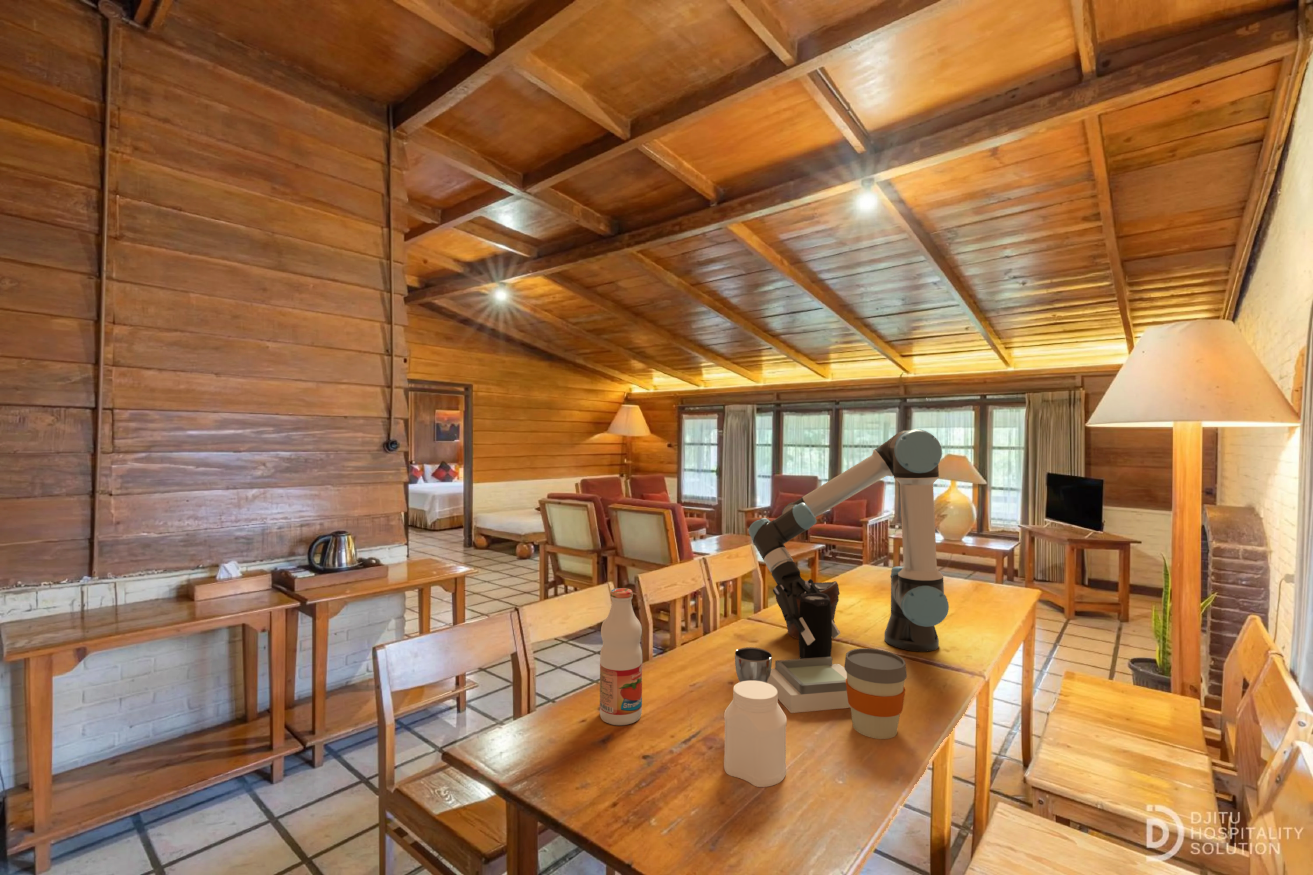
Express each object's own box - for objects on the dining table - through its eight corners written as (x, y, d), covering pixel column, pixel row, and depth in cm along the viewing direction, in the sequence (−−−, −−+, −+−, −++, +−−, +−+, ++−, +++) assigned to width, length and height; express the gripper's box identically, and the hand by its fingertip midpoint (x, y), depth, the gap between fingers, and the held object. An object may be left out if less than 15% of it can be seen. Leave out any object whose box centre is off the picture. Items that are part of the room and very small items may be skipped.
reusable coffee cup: (908, 748, 117) (908, 673, 117) (842, 736, 121) (843, 664, 121) (904, 719, 129) (905, 652, 129) (845, 710, 133) (845, 644, 133)
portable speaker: (821, 660, 162) (822, 590, 162) (837, 674, 153) (838, 599, 153) (792, 662, 161) (793, 591, 161) (807, 676, 152) (808, 601, 152)
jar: (794, 768, 110) (794, 689, 110) (770, 792, 102) (771, 707, 102) (740, 748, 117) (741, 673, 117) (715, 769, 109) (715, 689, 109)
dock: (856, 677, 151) (856, 654, 151) (890, 703, 137) (890, 678, 137) (765, 684, 146) (765, 661, 146) (790, 712, 132) (791, 686, 132)
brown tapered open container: (767, 626, 192) (769, 571, 191) (826, 624, 194) (827, 571, 193) (785, 646, 174) (787, 586, 173) (850, 644, 176) (851, 586, 176)
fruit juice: (610, 703, 136) (611, 583, 136) (648, 710, 133) (648, 587, 133) (592, 722, 127) (593, 593, 127) (632, 729, 124) (633, 598, 124)
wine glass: (773, 716, 130) (774, 649, 130) (768, 734, 122) (769, 662, 122) (738, 711, 132) (738, 645, 132) (731, 727, 125) (731, 657, 125)
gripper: (802, 570, 176) (844, 638, 162) (747, 579, 165) (787, 653, 151) (816, 555, 171) (860, 625, 158) (760, 563, 160) (802, 639, 146)
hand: (824, 639), depth 154 cm, fingers closed on portable speaker, 9 cm apart
